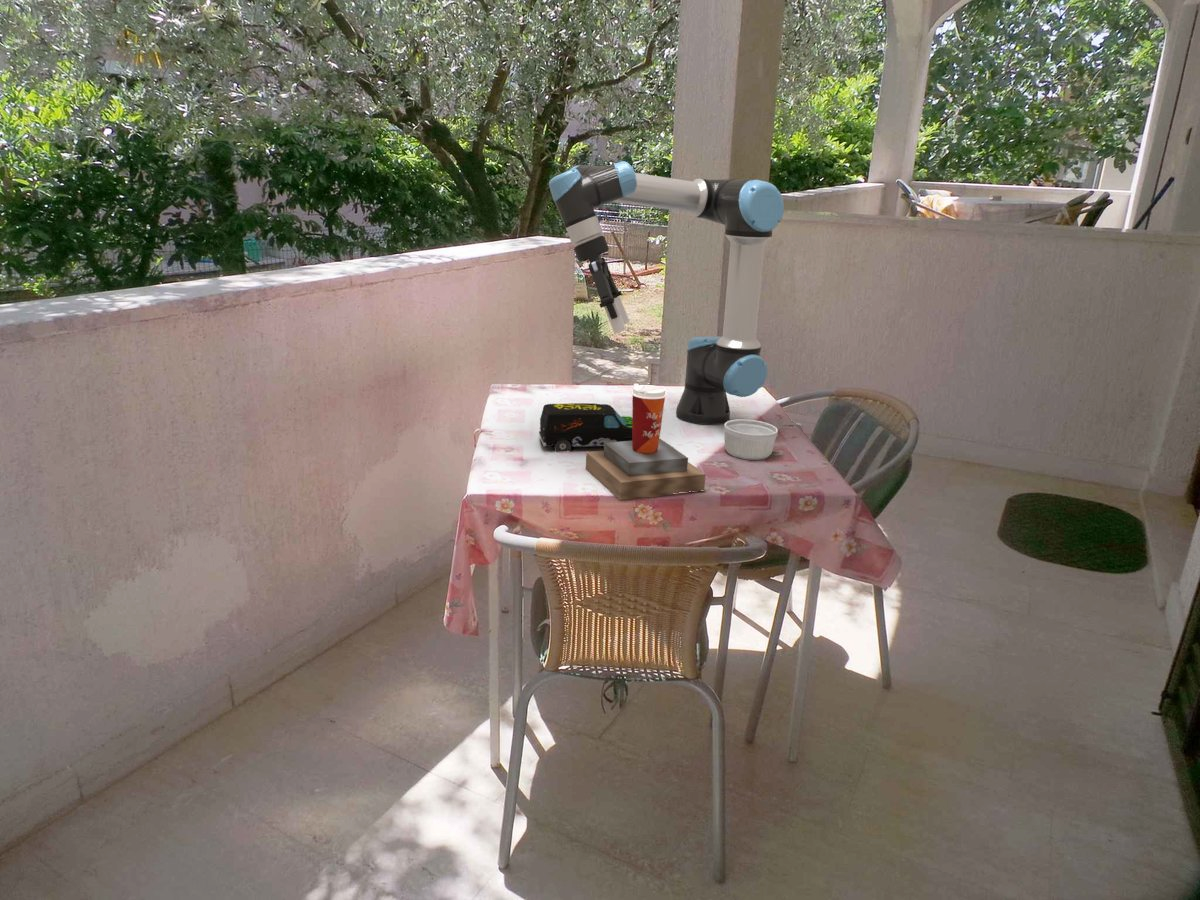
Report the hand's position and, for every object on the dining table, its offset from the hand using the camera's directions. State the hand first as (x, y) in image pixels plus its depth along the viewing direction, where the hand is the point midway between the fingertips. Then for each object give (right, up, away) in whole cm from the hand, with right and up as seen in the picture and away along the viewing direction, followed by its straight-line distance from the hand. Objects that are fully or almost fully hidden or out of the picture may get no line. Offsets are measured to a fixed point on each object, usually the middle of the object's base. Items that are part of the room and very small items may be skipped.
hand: (622, 327), depth 197 cm
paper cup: (+5, -28, -9) cm, 30 cm away
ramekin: (+32, -29, +16) cm, 46 cm away
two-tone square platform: (+4, -35, -7) cm, 36 cm away
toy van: (-8, -27, +15) cm, 32 cm away
